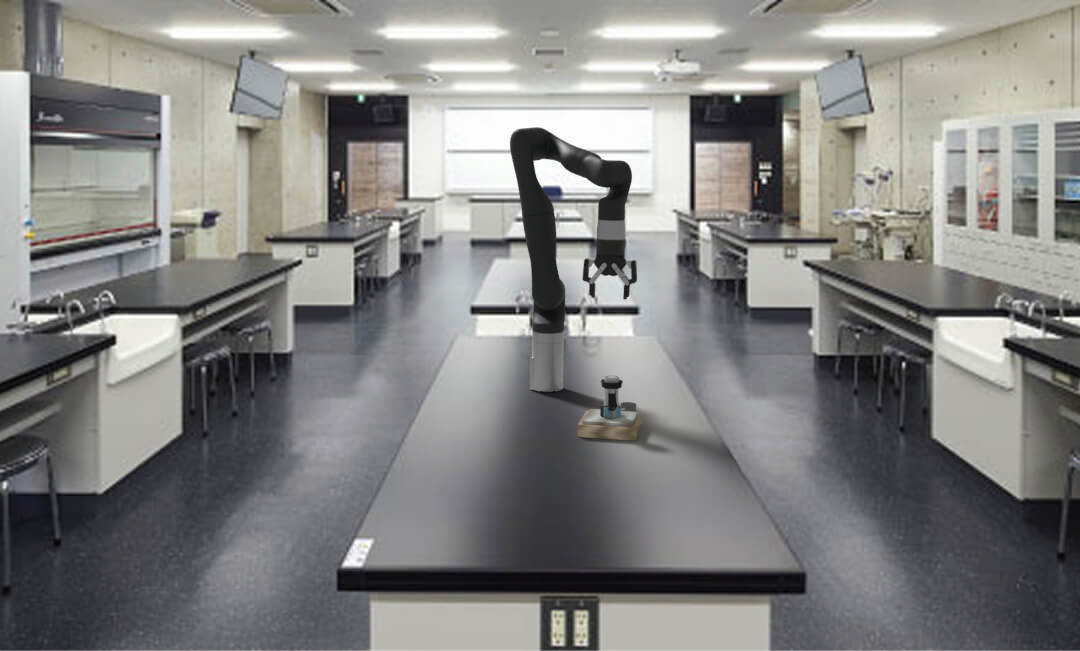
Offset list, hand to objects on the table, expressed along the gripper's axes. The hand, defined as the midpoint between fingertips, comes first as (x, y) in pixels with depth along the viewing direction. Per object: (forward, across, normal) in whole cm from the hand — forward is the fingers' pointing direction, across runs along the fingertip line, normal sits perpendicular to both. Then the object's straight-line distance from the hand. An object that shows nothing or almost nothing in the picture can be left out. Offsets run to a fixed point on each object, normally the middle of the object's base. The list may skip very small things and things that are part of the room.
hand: (609, 298), depth 255 cm
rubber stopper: (+30, +7, -9) cm, 32 cm away
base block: (+30, +4, -22) cm, 37 cm away
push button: (+26, +5, -22) cm, 35 cm away
